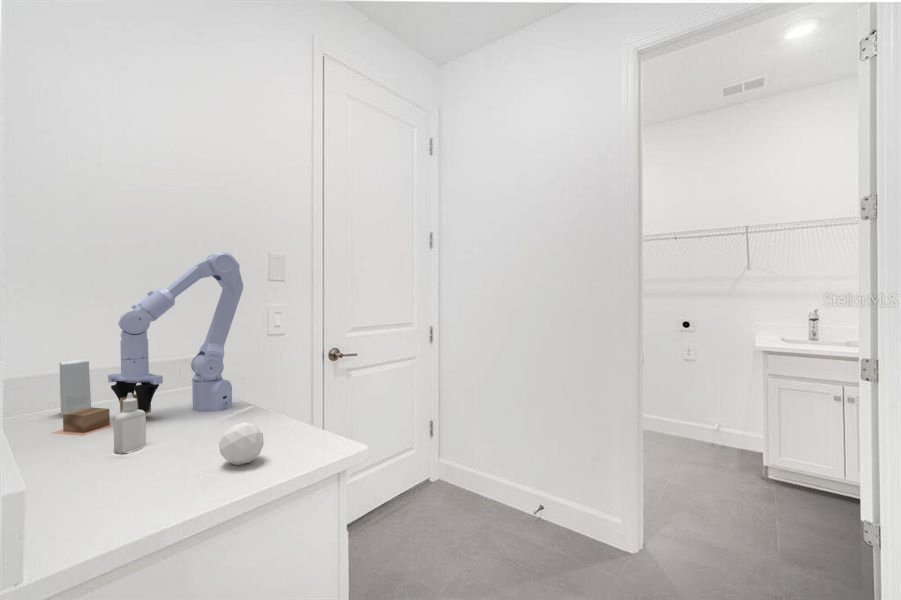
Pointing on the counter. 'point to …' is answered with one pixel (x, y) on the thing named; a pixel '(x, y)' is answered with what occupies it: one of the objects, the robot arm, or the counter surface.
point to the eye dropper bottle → (129, 427)
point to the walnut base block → (86, 420)
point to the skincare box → (74, 385)
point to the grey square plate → (82, 433)
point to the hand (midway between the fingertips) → (135, 411)
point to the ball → (241, 443)
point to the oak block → (137, 404)
